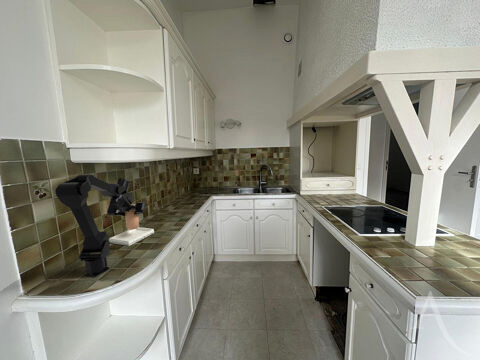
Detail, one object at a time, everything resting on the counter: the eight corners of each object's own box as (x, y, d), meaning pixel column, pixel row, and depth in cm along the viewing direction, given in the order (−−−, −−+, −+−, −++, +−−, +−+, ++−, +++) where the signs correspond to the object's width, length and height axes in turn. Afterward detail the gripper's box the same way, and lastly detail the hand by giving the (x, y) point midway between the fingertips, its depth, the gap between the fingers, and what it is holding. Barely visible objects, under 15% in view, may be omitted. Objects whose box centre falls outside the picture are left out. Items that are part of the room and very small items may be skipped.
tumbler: (136, 229, 115) (134, 206, 113) (124, 230, 114) (121, 207, 113) (141, 225, 121) (139, 203, 120) (129, 225, 121) (127, 204, 119)
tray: (129, 245, 108) (128, 241, 108) (109, 242, 113) (109, 238, 112) (154, 233, 125) (153, 229, 124) (136, 230, 130) (135, 226, 129)
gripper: (143, 187, 111) (152, 202, 124) (107, 189, 110) (120, 204, 123) (138, 205, 105) (148, 219, 117) (99, 207, 104) (114, 221, 116)
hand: (132, 215), depth 118 cm, fingers closed on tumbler, 6 cm apart
